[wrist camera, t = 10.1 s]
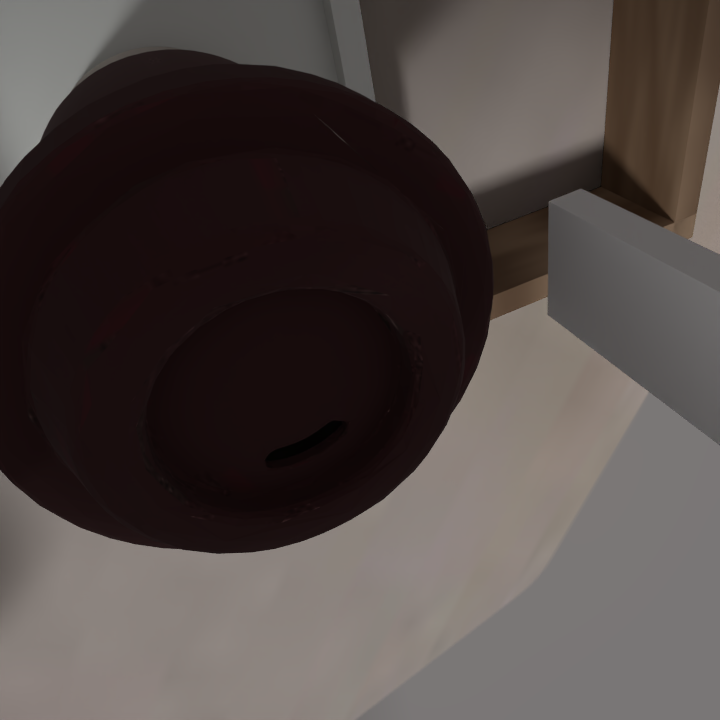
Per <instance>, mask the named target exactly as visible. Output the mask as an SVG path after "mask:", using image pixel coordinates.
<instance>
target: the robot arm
mask: <svg viewBox="0 0 720 720" xmlns="http://www.w3.org/2000/svg"><path fill="white" fill-rule="evenodd" d="M548 315H549V316H550V317H551V318H553V319H554V320H555V321H557V322H558V323H559V324H561V325H562V326H563V327H565V328H566V329H567V330H569V331H570V332H571V333H573V334H574V335H575V336H576V337H578V338H579V339H580V340H582V341H583V342H584V343H586V344H587V345H588V346H590V347H591V348H592V349H594V350H595V351H596V352H598V353H599V354H600V355H601V356H603V357H604V358H605V359H607V360H608V361H609V362H611V363H612V364H613V365H615V366H616V367H617V368H619V369H620V370H621V371H623V372H624V373H625V374H626V375H628V376H629V377H630V378H632V379H633V380H634V381H636V382H637V383H638V384H640V385H641V386H642V387H644V388H645V389H646V390H648V391H649V392H650V393H652V394H653V395H654V396H655V397H657V398H658V399H659V400H661V401H662V402H663V403H665V404H666V405H667V406H669V407H670V408H671V409H673V410H674V411H675V412H677V413H678V414H679V415H680V416H682V417H683V418H684V419H686V420H687V421H688V422H690V423H691V424H692V425H694V426H695V427H696V428H698V429H699V430H700V431H701V432H703V433H704V434H706V435H707V436H708V437H710V438H711V439H712V440H713V441H715V442H716V443H717V444H719V445H720V254H717V253H715V252H713V251H711V250H709V249H707V248H705V247H703V246H701V245H699V244H697V243H694V242H692V241H690V240H688V239H686V238H684V237H682V236H680V235H678V234H676V233H673V232H671V231H669V230H667V229H665V228H663V227H661V226H659V225H657V224H655V223H652V222H650V221H648V220H646V219H644V218H642V217H640V216H638V215H636V214H634V213H632V212H629V211H627V210H625V209H623V208H621V207H619V206H617V205H615V204H613V203H611V202H608V201H606V200H604V199H602V198H600V197H598V196H596V195H594V194H592V193H590V192H587V191H585V190H583V189H579V190H576V191H573V192H571V193H568V194H566V195H563V196H561V197H558V198H556V199H553V200H550V201H549V220H548Z"/></svg>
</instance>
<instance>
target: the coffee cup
mask: <svg viewBox="0 0 720 720" xmlns="http://www.w3.org/2000/svg"><path fill="white" fill-rule="evenodd" d="M493 289H494V279H493V262H492V256H491V251H490V246H489V240H488V235H487V229H486V226H485V224H484V221H483V219H482V216H481V213H480V211H479V208H478V206H477V204H476V202H475V200H474V197H473V195H472V193H471V191H470V190H469V188H468V187H467V185H466V184H465V182H464V181H463V179H462V178H461V176H460V175H459V173H458V172H457V170H456V169H455V167H454V166H453V164H452V163H451V161H450V160H449V159H448V158H447V157H446V155H445V154H444V153H443V152H442V151H441V150H440V149H439V148H438V147H437V146H436V145H435V144H434V143H433V142H432V141H431V140H430V139H429V138H428V137H426V136H425V135H424V134H423V133H421V132H420V131H419V130H418V129H417V128H415V127H414V126H413V125H412V124H411V123H409V122H407V121H406V120H404V119H403V118H401V117H400V116H398V115H396V114H395V113H393V112H392V111H390V110H388V109H387V108H385V107H383V106H381V105H380V104H378V103H376V102H374V101H373V100H371V99H369V98H367V97H366V96H364V95H362V94H360V93H358V92H356V91H354V90H351V89H349V88H347V87H345V86H343V85H341V84H339V83H337V82H334V81H331V80H328V79H325V78H322V77H319V76H316V75H313V74H310V73H305V72H301V71H296V70H292V69H287V68H283V67H278V66H269V65H250V64H238V63H236V62H233V61H231V60H228V59H225V58H223V57H220V56H216V55H212V54H209V53H204V52H198V51H193V50H183V49H177V48H172V47H144V48H138V49H133V50H129V51H126V52H122V53H119V54H117V55H115V56H112V57H110V58H108V59H106V60H105V61H103V62H101V63H99V64H98V65H96V66H95V67H94V68H93V69H91V70H90V71H89V72H87V73H86V74H85V75H84V76H83V77H82V78H81V79H80V80H79V81H78V83H77V84H76V85H75V86H74V88H73V89H72V90H71V92H70V93H69V95H68V96H67V97H66V98H65V99H64V100H63V101H62V103H61V104H60V105H59V106H58V108H57V109H56V110H55V112H54V114H53V115H52V117H51V119H50V121H49V123H48V125H47V127H46V129H45V131H44V133H43V135H42V138H41V140H40V142H39V143H38V144H37V145H36V146H35V147H34V148H33V149H32V150H31V151H30V152H29V153H28V154H27V155H26V156H25V157H24V158H23V159H22V160H21V161H20V162H19V163H18V165H17V166H16V167H15V168H14V170H13V171H12V172H11V173H10V175H9V176H8V177H7V178H6V180H5V181H4V183H3V184H2V186H1V187H0V470H1V471H2V472H3V473H4V474H5V476H6V477H7V478H8V479H9V480H10V481H11V482H12V483H13V484H14V485H15V486H17V487H18V488H19V489H20V490H21V491H23V492H24V493H25V494H26V495H28V496H29V497H30V498H31V499H32V500H34V501H35V502H36V503H37V504H38V505H40V506H42V507H43V508H45V509H47V510H49V511H50V512H52V513H54V514H56V515H58V516H59V517H61V518H63V519H65V520H67V521H69V522H71V523H73V524H74V525H76V526H78V527H80V528H83V529H86V530H89V531H91V532H94V533H97V534H100V535H103V536H106V537H108V538H112V539H116V540H120V541H124V542H129V543H133V544H138V545H145V546H152V547H159V548H171V549H182V550H191V551H199V552H208V553H216V554H221V553H246V552H256V551H263V550H270V549H276V548H279V547H283V546H287V545H290V544H294V543H298V542H301V541H304V540H307V539H309V538H312V537H315V536H317V535H320V534H322V533H325V532H327V531H329V530H331V529H333V528H335V527H337V526H339V525H341V524H343V523H345V522H347V521H349V520H351V519H353V518H354V517H356V516H358V515H359V514H361V513H363V512H364V511H366V510H367V509H369V508H371V507H372V506H374V505H375V504H377V503H378V502H380V501H381V500H383V499H384V498H385V497H386V496H387V495H389V494H390V493H391V492H392V491H393V490H394V489H395V488H396V487H397V486H398V485H399V484H400V483H402V482H403V481H404V480H405V479H406V478H407V477H408V476H409V475H410V474H411V473H412V472H414V471H415V469H416V468H417V467H418V466H419V464H420V463H421V462H422V461H423V459H424V458H425V457H426V456H427V454H428V453H429V451H430V450H431V448H432V447H433V445H434V444H435V442H436V441H437V439H438V437H439V436H440V434H441V433H442V431H443V430H444V428H445V426H446V425H447V422H448V420H449V418H450V415H451V413H452V412H453V410H454V409H455V408H456V406H457V405H458V403H459V402H460V400H461V398H462V397H463V395H464V393H465V391H466V389H467V387H468V385H469V383H470V381H471V379H472V377H473V375H474V373H475V371H476V369H477V366H478V363H479V360H480V357H481V354H482V351H483V348H484V345H485V342H486V339H487V335H488V329H489V323H490V317H491V310H492V304H493Z"/></svg>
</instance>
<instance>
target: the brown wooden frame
mask: <svg viewBox="0 0 720 720" xmlns="http://www.w3.org/2000/svg"><path fill="white" fill-rule="evenodd" d="M719 84H720V0H614V5H613V19H612V34H611V48H610V63H609V78H608V92H607V107H606V121H605V136H604V150H603V165H602V180H601V187H599V188H596V189H594V190H591V191H588V192H590V193H592V194H594V195H596V196H598V197H600V198H602V199H604V200H606V201H608V202H611V203H613V204H615V205H617V206H619V207H621V208H623V209H625V210H627V211H629V212H632V213H634V214H636V215H638V216H640V217H642V218H644V219H646V220H648V221H650V222H652V223H655V224H657V225H659V226H661V227H663V228H665V229H667V230H669V231H671V232H673V233H676V234H678V235H680V236H682V237H684V238H686V239H689V238H691V237H692V236H693V230H694V225H695V219H696V213H697V208H698V202H699V196H700V191H701V185H702V180H703V174H704V168H705V163H706V157H707V152H708V146H709V140H710V135H711V129H712V123H713V118H714V112H715V107H716V101H717V95H718V90H719ZM548 220H549V207H546V208H544V209H541V210H538V211H536V212H533V213H531V214H528V215H525V216H523V217H520V218H517V219H515V220H512V221H510V222H507V223H504V224H502V225H499V226H496V227H494V228H491V229H488V230H487V235H488V240H489V246H490V251H491V256H492V262H493V279H494V289H493V304H492V310H491V317H490V320H492V319H494V318H497V317H499V316H502V315H504V314H506V313H509V312H511V311H514V310H516V309H519V308H521V307H523V306H526V305H528V304H531V303H533V302H536V301H538V300H541V299H543V298H545V297H548Z"/></svg>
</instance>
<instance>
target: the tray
mask: <svg viewBox="0 0 720 720" xmlns="http://www.w3.org/2000/svg"><path fill="white" fill-rule="evenodd" d="M144 47H172V48H177V49H183V50H193V51H198V52H204V53H209V54H212V55H216V56H220V57H223V58H225V59H228V60H231V61H233V62H236V63H238V64H250V65H269V66H278V67H283V68H287V69H292V70H296V71H301V72H305V73H310V74H313V75H316V76H319V77H322V78H325V79H328V80H331V81H334V82H337V83H339V84H341V85H343V86H345V87H347V88H349V89H351V90H354V91H356V92H358V93H360V94H362V95H364V96H366V97H367V98H369V99H371V100H373V101H374V102H376V101H375V95H374V89H373V83H372V77H371V70H370V64H369V58H368V52H367V46H366V40H365V33H364V27H363V21H362V15H361V9H360V3H359V0H0V187H1V186H2V184H3V183H4V181H5V180H6V178H7V177H8V176H9V175H10V173H11V172H12V171H13V170H14V168H15V167H16V166H17V165H18V163H19V162H20V161H21V160H22V159H23V158H24V157H25V156H26V155H27V154H28V153H29V152H30V151H31V150H32V149H33V148H34V147H35V146H36V145H37V144H38V143H39V142H40V140H41V138H42V135H43V133H44V131H45V129H46V127H47V125H48V123H49V121H50V119H51V117H52V115H53V114H54V112H55V110H56V109H57V108H58V106H59V105H60V104H61V103H62V101H63V100H64V99H65V98H66V97H67V96H68V95H69V93H70V92H71V90H72V89H73V88H74V86H75V85H76V84H77V83H78V81H79V80H80V79H81V78H82V77H83V76H84V75H85V74H86V73H87V72H89V71H90V70H91V69H93V68H94V67H95V66H96V65H98V64H99V63H101V62H103V61H105V60H106V59H108V58H110V57H112V56H115V55H117V54H119V53H122V52H126V51H129V50H133V49H138V48H144Z"/></svg>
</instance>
